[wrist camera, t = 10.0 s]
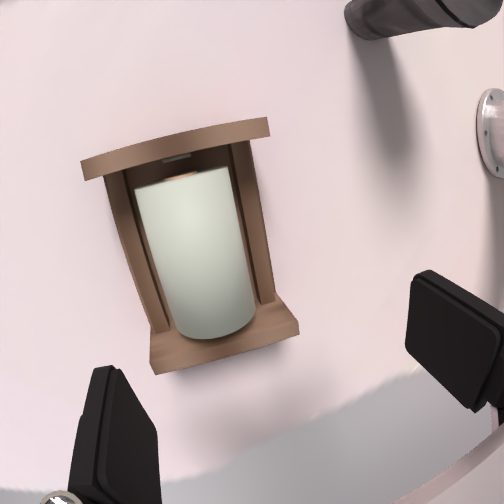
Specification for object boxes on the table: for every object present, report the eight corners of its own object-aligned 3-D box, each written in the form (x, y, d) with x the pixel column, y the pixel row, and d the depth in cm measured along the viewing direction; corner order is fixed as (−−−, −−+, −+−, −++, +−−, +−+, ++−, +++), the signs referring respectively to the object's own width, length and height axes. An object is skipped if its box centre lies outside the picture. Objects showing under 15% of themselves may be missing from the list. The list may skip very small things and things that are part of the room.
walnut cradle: (243, 124, 22) (266, 116, 17) (274, 298, 28) (299, 334, 22) (101, 158, 20) (80, 161, 15) (155, 331, 26) (155, 375, 20)
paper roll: (139, 181, 21) (126, 193, 15) (220, 162, 22) (235, 166, 16) (175, 306, 25) (177, 349, 19) (246, 287, 26) (265, 326, 20)
